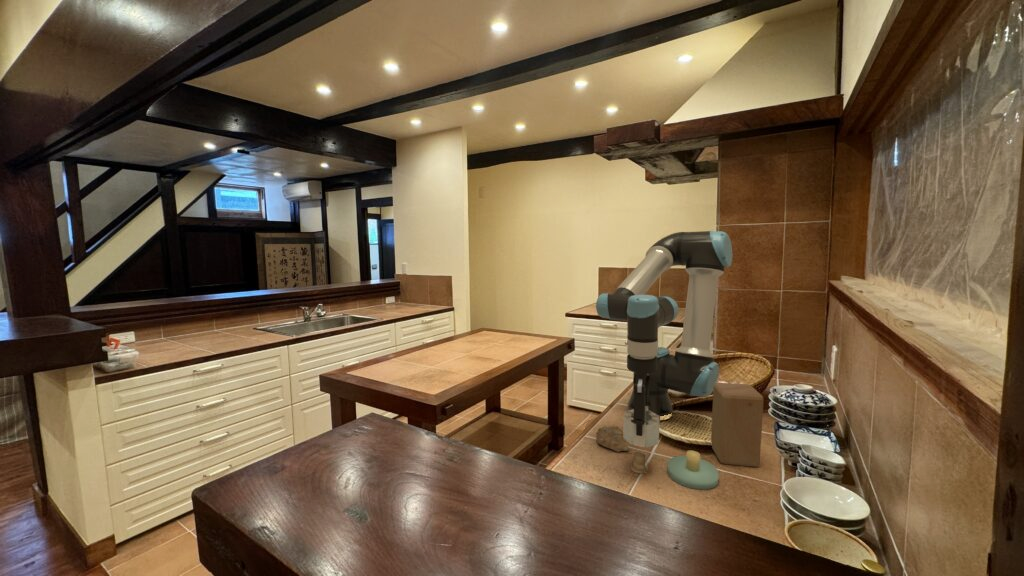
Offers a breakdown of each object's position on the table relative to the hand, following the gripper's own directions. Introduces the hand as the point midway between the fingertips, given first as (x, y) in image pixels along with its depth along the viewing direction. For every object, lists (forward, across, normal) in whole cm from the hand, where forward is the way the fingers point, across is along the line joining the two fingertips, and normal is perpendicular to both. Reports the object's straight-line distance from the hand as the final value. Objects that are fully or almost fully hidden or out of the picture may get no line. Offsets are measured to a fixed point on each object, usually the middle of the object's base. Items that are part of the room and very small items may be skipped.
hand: (641, 436), depth 105 cm
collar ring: (0, 0, 0) cm, 0 cm away
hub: (+9, -1, +13) cm, 16 cm away
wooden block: (+10, -15, +24) cm, 30 cm away
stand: (+9, +1, 0) cm, 9 cm away
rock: (+10, -10, -9) cm, 16 cm away
